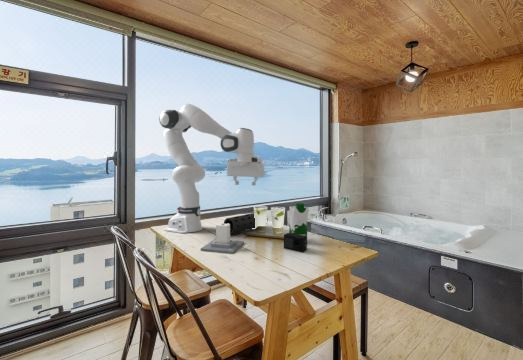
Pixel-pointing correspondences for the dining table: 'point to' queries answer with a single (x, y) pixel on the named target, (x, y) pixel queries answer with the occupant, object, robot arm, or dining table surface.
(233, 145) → the robot arm
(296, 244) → the digital camera
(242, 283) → the dining table surface
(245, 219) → the muzzle brake
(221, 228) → the charger brick
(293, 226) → the milk carton
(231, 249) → the socket plate
